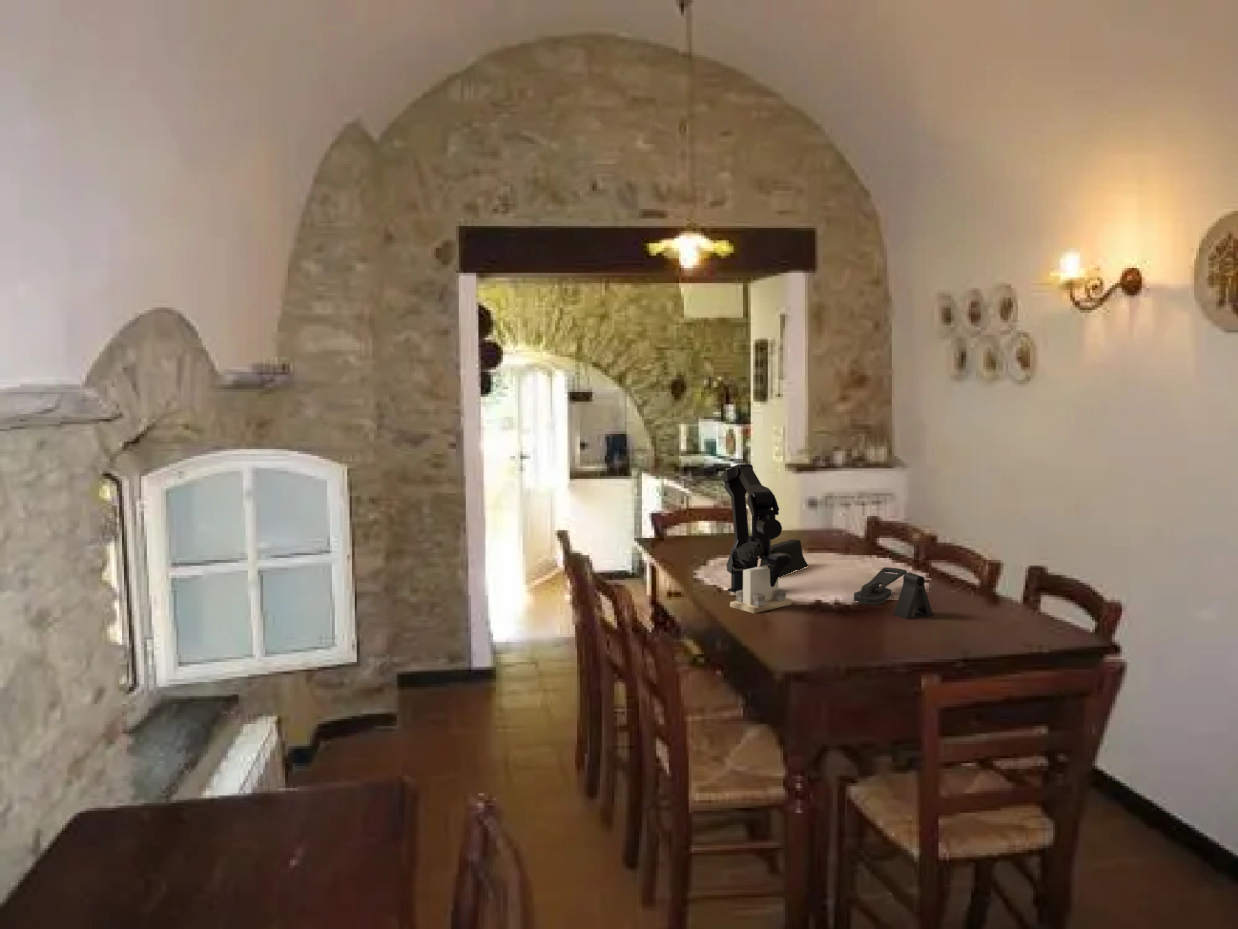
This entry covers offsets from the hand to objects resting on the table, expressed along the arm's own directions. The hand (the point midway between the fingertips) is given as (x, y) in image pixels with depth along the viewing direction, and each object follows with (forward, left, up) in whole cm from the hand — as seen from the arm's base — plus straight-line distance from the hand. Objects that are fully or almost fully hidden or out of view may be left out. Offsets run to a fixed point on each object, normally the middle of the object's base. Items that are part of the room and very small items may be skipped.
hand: (760, 584), depth 293 cm
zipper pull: (+15, +37, -7) cm, 41 cm away
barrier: (-28, +40, -7) cm, 49 cm away
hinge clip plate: (0, 0, -7) cm, 7 cm away
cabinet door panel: (0, 0, -5) cm, 5 cm away
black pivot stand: (+36, +25, -7) cm, 44 cm away
